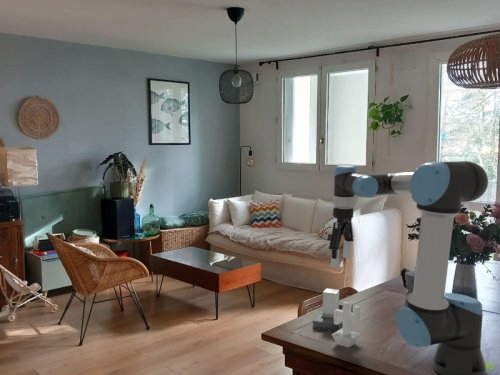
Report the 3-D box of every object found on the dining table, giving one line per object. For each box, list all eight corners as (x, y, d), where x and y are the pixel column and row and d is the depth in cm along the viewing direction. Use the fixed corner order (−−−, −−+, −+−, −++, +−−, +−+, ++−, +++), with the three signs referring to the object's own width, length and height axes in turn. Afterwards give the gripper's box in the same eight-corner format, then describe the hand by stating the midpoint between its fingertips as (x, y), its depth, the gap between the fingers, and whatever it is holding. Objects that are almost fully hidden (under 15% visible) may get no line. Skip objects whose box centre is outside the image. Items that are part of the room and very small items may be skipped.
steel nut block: (335, 327, 187) (336, 293, 186) (322, 325, 189) (323, 292, 188) (338, 322, 191) (339, 289, 190) (325, 320, 193) (326, 288, 192)
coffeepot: (436, 312, 203) (437, 269, 201) (418, 316, 199) (420, 272, 197) (408, 301, 217) (410, 260, 215) (392, 304, 212) (393, 263, 211)
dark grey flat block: (339, 332, 182) (339, 324, 181) (312, 328, 186) (312, 320, 185) (352, 311, 204) (353, 304, 203) (329, 308, 208) (329, 301, 207)
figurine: (339, 337, 178) (339, 296, 176) (363, 344, 172) (364, 302, 170) (328, 343, 172) (329, 301, 170) (353, 351, 166) (354, 307, 165)
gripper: (344, 201, 198) (342, 252, 201) (321, 211, 176) (319, 268, 179) (363, 203, 194) (360, 255, 197) (341, 213, 173) (338, 272, 176)
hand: (340, 262), depth 188 cm, fingers open, 13 cm apart
